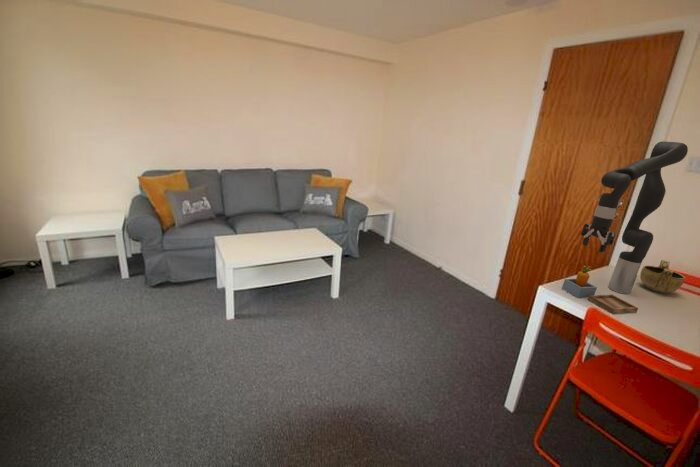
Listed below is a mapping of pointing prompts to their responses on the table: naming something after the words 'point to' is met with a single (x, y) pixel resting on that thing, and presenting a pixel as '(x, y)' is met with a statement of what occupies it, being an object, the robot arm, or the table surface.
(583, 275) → the carrot
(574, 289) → the blue-grey square box
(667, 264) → the tan woven basket
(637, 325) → the table surface
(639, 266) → the robot arm
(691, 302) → the table surface
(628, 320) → the table surface
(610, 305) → the tray
